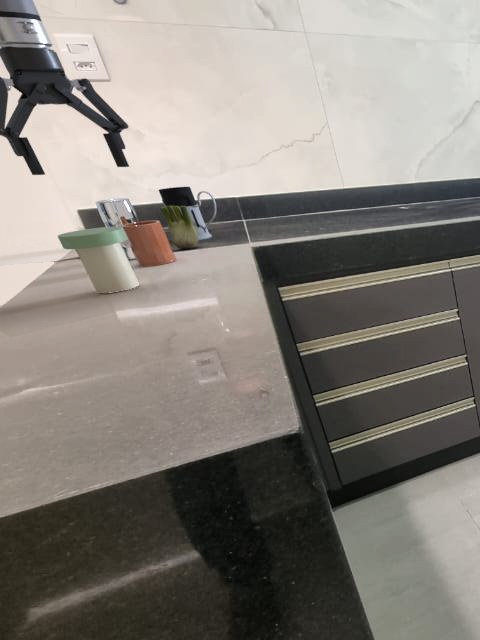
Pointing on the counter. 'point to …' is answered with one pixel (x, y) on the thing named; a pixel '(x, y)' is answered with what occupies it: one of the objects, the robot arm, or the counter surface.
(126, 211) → the beer glass
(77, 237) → the lid
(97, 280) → the can
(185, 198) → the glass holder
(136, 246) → the cup
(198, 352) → the counter surface
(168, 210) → the fennel bulb
